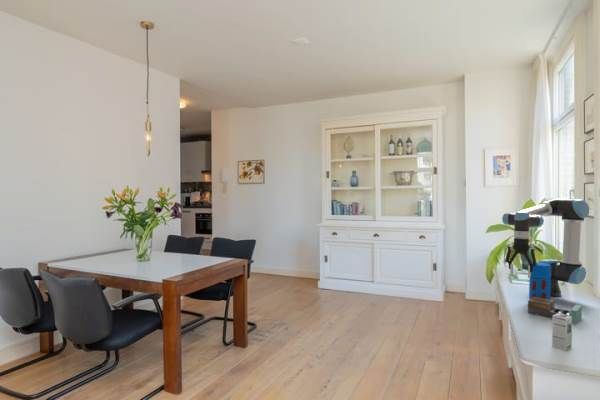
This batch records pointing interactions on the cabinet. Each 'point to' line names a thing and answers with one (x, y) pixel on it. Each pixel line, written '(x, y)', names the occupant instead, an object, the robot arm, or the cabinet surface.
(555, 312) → the roller bed
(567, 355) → the cabinet surface
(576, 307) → the stop block
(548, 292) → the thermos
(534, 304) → the slab
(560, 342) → the syrup box
